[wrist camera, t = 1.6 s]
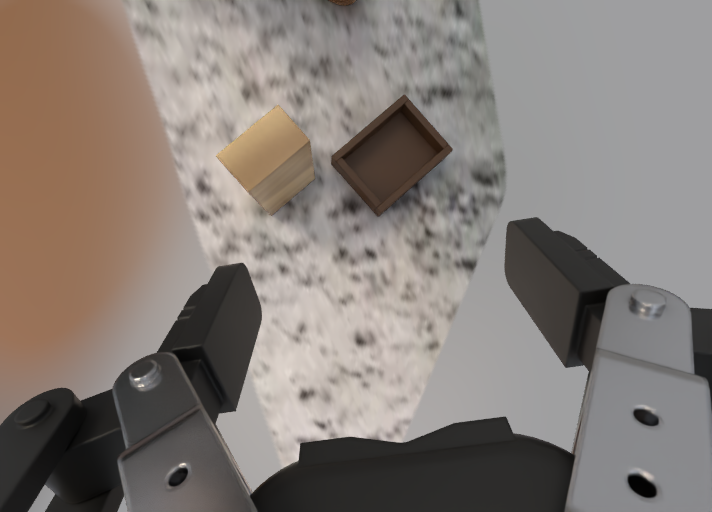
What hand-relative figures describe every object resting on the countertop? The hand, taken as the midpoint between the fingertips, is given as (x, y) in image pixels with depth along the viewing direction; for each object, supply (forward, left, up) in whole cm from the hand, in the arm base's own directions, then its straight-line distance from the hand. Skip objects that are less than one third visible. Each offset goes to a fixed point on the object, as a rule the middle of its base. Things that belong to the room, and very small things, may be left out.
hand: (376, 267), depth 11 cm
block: (-9, +1, -20) cm, 22 cm away
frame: (-5, +9, -20) cm, 23 cm away
